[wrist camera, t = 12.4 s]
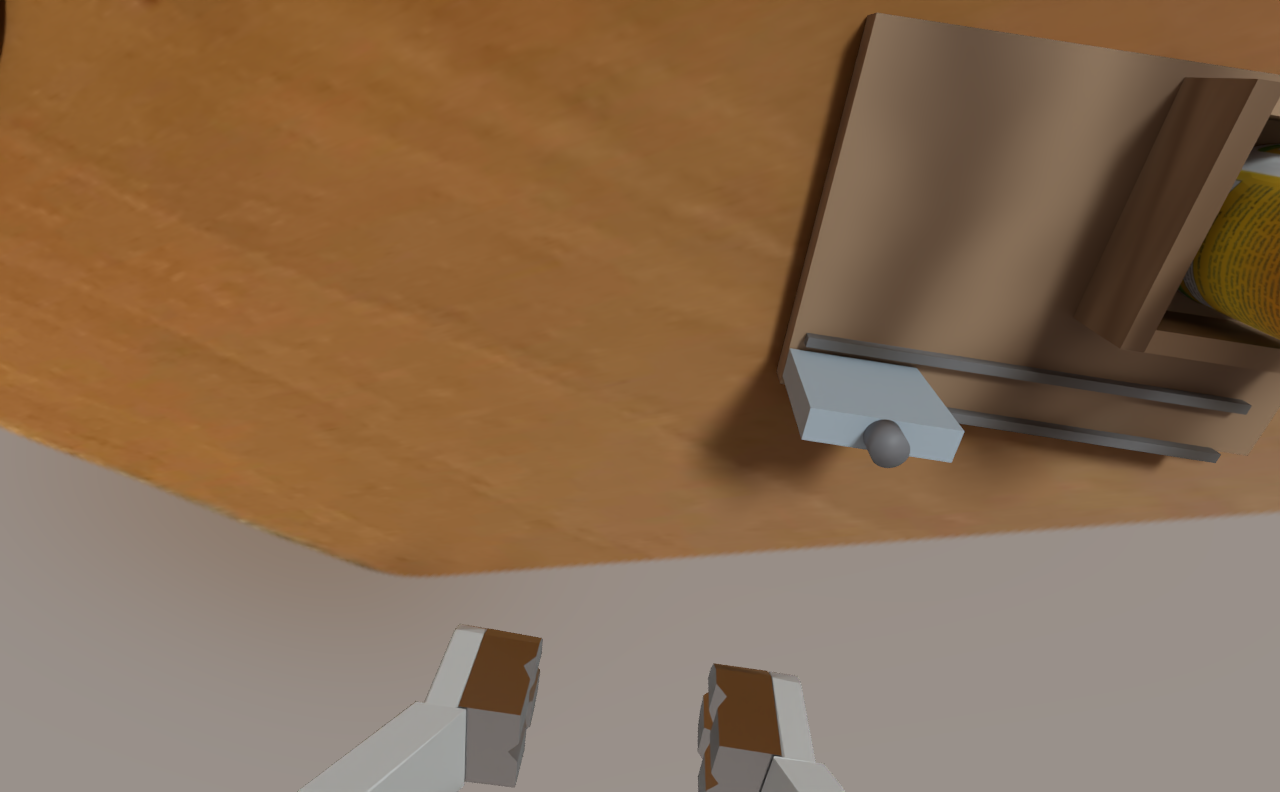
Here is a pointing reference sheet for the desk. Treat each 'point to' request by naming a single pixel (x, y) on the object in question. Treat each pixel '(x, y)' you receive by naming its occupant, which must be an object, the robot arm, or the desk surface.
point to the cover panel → (869, 408)
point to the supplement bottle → (1244, 248)
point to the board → (1041, 236)
